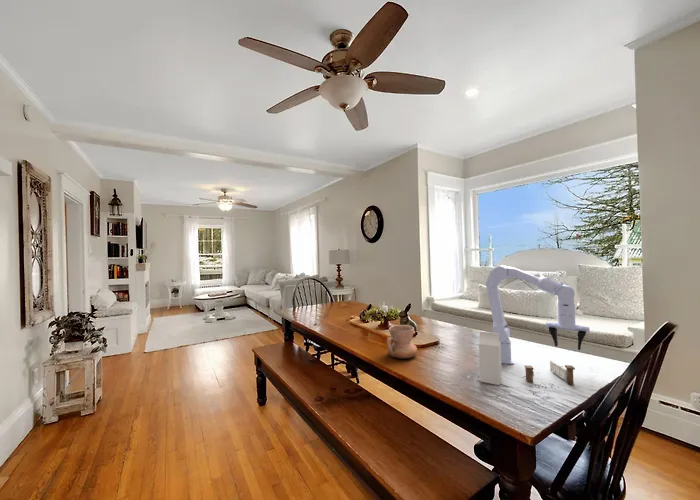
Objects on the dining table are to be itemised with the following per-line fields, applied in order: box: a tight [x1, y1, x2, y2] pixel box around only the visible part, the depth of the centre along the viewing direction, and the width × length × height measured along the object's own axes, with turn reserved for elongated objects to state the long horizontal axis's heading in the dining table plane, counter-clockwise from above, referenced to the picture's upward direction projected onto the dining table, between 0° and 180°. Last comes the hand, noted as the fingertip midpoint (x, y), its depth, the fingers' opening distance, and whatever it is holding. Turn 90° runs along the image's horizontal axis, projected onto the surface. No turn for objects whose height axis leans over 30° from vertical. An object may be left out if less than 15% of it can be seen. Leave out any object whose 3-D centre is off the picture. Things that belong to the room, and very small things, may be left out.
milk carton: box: [478, 331, 503, 386], centre depth 119 cm, size 7×7×19 cm
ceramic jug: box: [386, 324, 418, 360], centre depth 149 cm, size 18×14×14 cm
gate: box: [549, 360, 567, 382], centre depth 120 cm, size 10×1×4 cm, turn 175°
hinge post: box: [564, 364, 576, 386], centre depth 113 cm, size 2×2×7 cm
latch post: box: [524, 364, 535, 383], centre depth 117 cm, size 2×2×6 cm
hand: (567, 347), depth 124 cm, fingers open, 7 cm apart
